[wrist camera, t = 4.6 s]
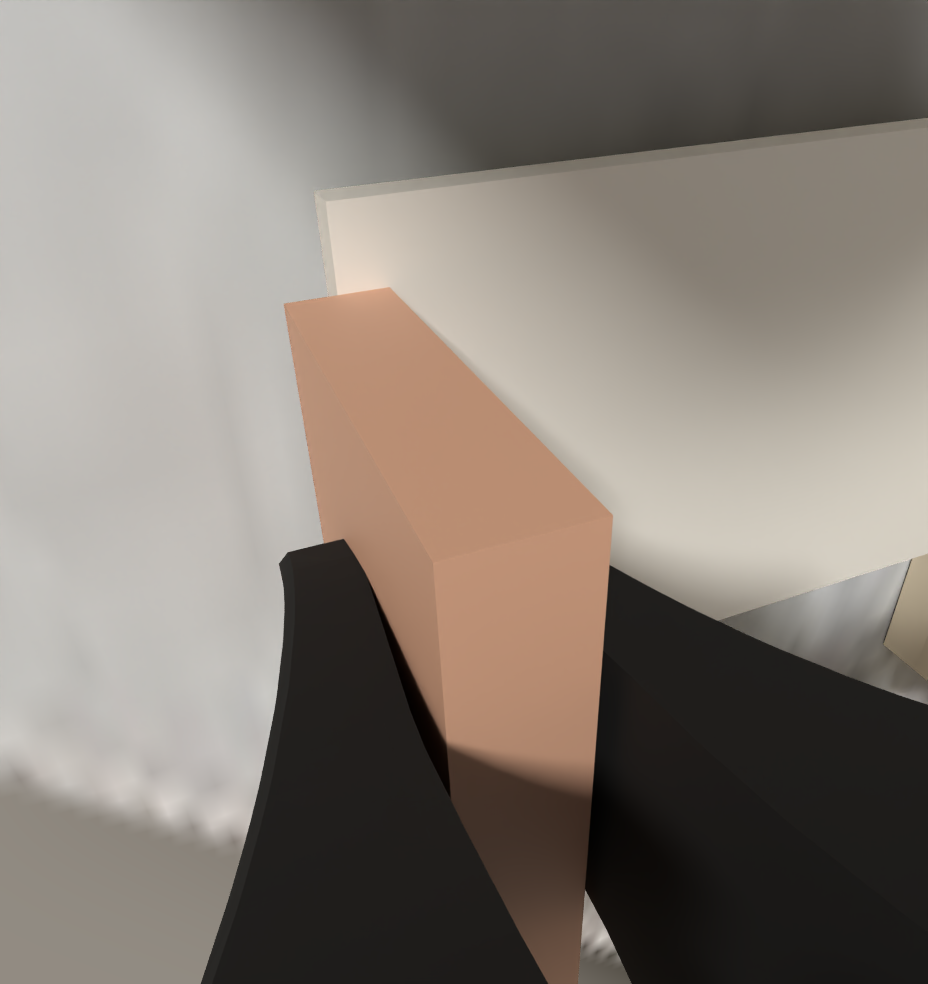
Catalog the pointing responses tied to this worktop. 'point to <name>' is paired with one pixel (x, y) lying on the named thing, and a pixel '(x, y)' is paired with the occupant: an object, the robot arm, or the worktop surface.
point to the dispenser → (912, 619)
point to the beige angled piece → (608, 434)
